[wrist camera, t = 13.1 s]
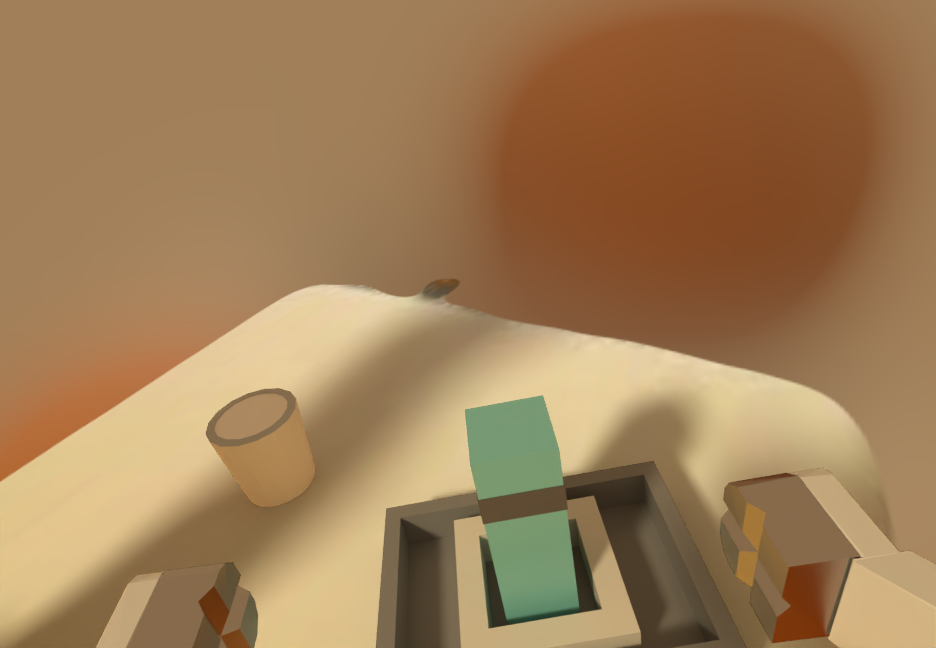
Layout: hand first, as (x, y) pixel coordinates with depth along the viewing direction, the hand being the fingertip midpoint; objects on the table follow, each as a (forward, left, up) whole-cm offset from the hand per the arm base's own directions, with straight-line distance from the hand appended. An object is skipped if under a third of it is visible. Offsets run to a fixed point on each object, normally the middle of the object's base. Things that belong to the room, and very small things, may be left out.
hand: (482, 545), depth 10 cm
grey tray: (+1, +15, -24) cm, 28 cm away
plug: (+1, +15, -23) cm, 27 cm away
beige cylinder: (-18, +29, -24) cm, 42 cm away
